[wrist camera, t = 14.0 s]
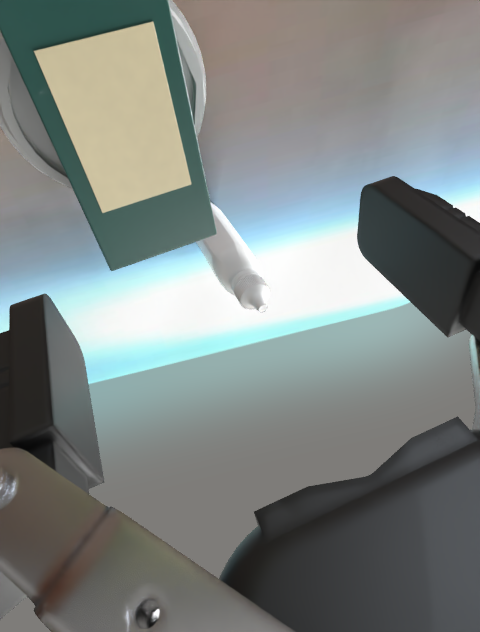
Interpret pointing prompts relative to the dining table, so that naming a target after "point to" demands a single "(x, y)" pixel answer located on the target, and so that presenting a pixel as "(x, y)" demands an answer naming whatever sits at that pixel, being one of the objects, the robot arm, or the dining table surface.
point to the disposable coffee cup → (25, 123)
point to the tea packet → (116, 118)
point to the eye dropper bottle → (235, 264)
